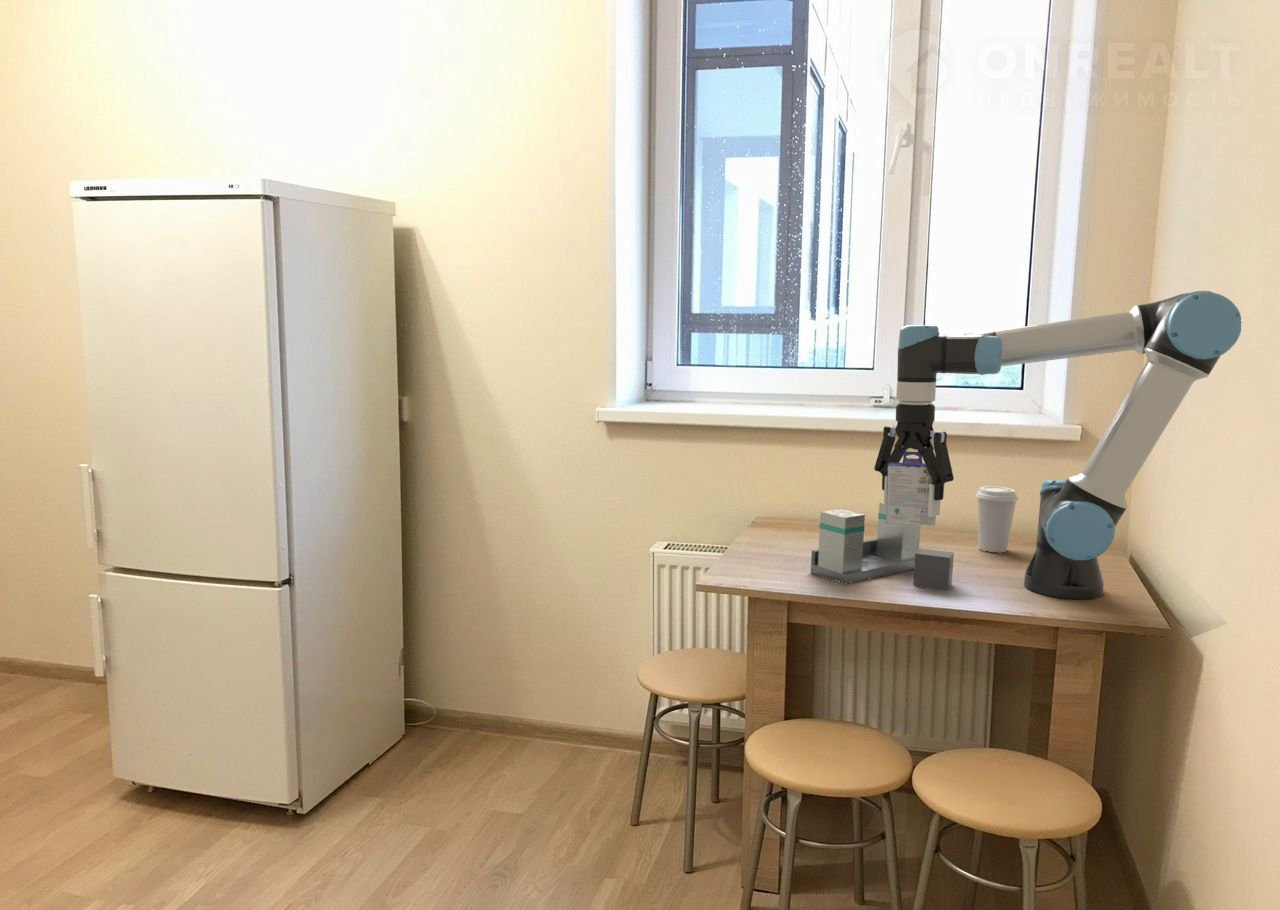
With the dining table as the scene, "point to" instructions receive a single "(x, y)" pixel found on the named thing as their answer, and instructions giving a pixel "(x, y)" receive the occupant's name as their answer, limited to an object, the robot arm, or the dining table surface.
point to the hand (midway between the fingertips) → (911, 511)
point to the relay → (933, 569)
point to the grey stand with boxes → (862, 547)
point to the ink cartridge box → (908, 492)
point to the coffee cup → (995, 517)
